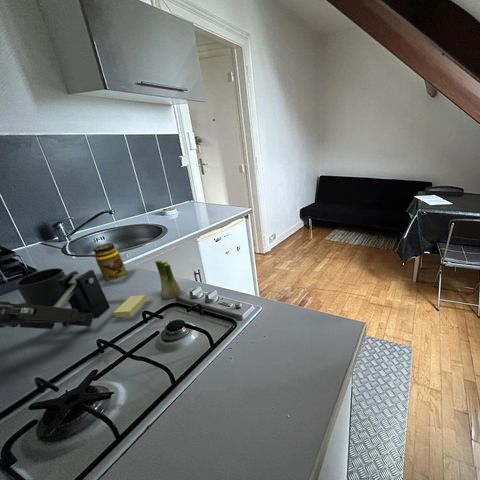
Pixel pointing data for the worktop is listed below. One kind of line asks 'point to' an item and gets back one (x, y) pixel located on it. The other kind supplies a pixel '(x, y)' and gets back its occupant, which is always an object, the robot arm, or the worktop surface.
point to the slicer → (86, 294)
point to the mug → (42, 287)
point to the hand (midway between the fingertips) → (71, 321)
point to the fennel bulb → (167, 281)
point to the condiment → (109, 262)
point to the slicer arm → (68, 292)
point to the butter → (130, 306)
